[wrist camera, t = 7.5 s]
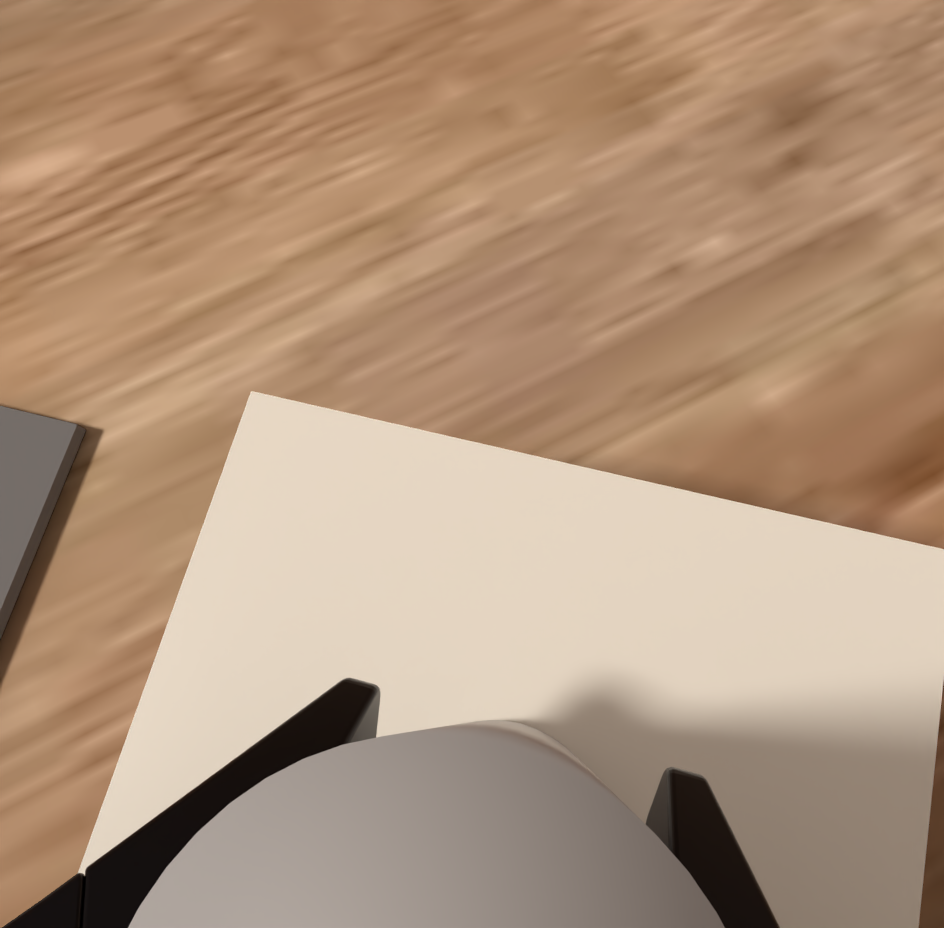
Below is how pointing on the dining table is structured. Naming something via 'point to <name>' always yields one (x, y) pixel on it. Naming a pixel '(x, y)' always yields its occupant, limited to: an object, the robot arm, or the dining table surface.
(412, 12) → the dining table surface
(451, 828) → the cream bowl cover
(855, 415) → the dining table surface
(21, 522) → the charcoal rubber mat
